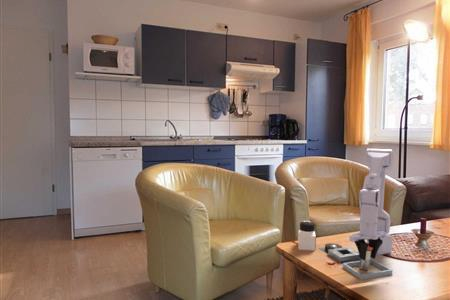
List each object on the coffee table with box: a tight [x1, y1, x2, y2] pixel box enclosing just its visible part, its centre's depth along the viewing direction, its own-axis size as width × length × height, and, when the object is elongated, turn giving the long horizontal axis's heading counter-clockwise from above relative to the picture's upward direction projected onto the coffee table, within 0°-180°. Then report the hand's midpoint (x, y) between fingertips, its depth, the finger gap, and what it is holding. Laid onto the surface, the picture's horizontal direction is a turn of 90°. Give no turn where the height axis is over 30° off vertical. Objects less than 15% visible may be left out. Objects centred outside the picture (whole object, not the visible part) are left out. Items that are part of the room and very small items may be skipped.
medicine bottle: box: [297, 220, 317, 251], centre depth 145 cm, size 7×7×12 cm
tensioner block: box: [318, 242, 360, 264], centre depth 138 cm, size 10×16×3 cm, turn 17°
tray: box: [342, 258, 393, 280], centre depth 122 cm, size 13×10×2 cm
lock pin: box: [358, 243, 374, 271], centre depth 123 cm, size 4×4×9 cm
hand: (367, 258), depth 122 cm, fingers closed on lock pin, 4 cm apart
